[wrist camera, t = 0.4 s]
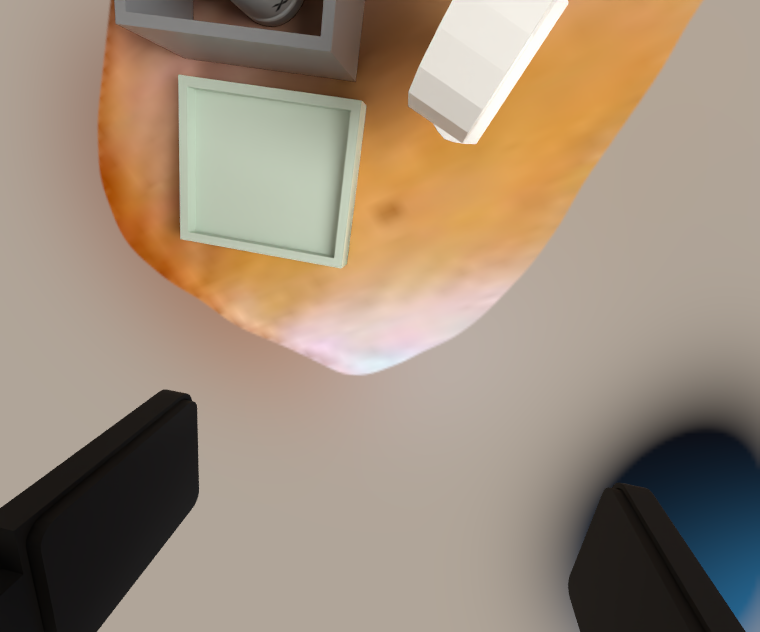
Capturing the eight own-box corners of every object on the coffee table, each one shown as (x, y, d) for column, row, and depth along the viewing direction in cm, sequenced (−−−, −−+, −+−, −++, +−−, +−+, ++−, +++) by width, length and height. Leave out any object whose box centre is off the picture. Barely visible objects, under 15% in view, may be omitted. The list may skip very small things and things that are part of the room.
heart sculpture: (462, 165, 35) (480, 144, 18) (414, 132, 35) (386, 80, 18) (586, -25, 30) (778, -307, 13) (531, -65, 29) (651, -406, 13)
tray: (193, 80, 36) (178, 74, 34) (366, 105, 35) (361, 100, 32) (193, 236, 41) (180, 239, 39) (346, 264, 39) (341, 268, 37)
